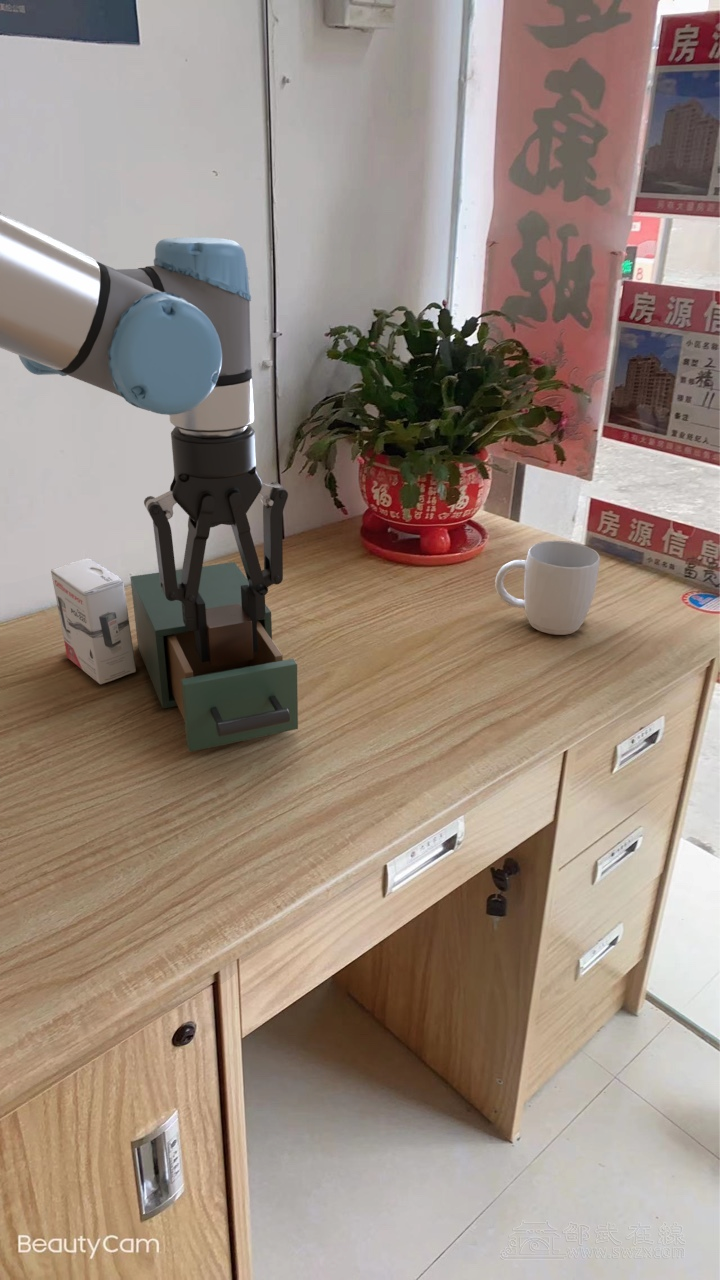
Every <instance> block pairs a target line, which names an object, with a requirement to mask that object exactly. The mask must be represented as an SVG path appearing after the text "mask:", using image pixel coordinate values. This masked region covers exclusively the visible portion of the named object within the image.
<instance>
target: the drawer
mask: <svg viewBox="0 0 720 1280" xmlns="http://www.w3.org/2000/svg"><path fill="white" fill-rule="evenodd" d="M163 639H164V650H165V660H166V670H167V681H168V685H169V687H170V689H171V691H172V694H173V696H174V698H175V701H176V703H177V705H178V706H177V707H178V711H179V712H180V714H181V716H182V719H183V722H184V729H185V730H184V732H185V741H186V743H185V744H186V747H187V750H188V752H189V753H193V752H197V751H201V750H205V749H210V748H215V747H219V746H225V745H228V744H229V745H230V744H233V743H239V742H244V741H248V740H252V739H257V738H263V737H267V736H271V735H277V734H281V733H285V732H291V731H294V730H298V729H299V716H298V715H299V707H298V706H299V704H298V703H299V700H298V698H299V697H298V695H299V693H298V663H297V662H296V661H295V659H294V658H289V659H284V658H283V654H282V653H281V651H280V649H279V648H278V647H277V645H276V644H275V642H274V641H273V638H272V639H271V638H270V637H269V635H268V634H267V632H266V631H265V629H264V628H263V626H262V625H261V623H260V622H259V621H258V620H257V640H258V652H257V653H253V659H251V660H246V661H241V662H235V663H230V664H224V665H219V666H213V667H212V666H211V665H210V663H209V661H208V662H202V661H201V659H200V658H199V656H198V654H197V652H196V647H195V635H194V631H190V632H184V633H178V634H172V635H166V636H163Z"/></svg>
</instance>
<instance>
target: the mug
mask: <svg viewBox="0 0 720 1280" xmlns="http://www.w3.org/2000/svg"><path fill="white" fill-rule="evenodd" d="M526 555H527V556H526V559H514V560H511V561H509V562H506V563H505V564H504V565H502V566H501V567H500V569H499V570H498V572H496V576H495V582H494V586H495V590H496V593H497V595H498V597H499V599H500V600H501V601H503V602H504V603H505V604H506V605H508V606H510V607H513V608H516V609H524V610H525V614H526V619H527V621H528V624H529V625H530V626H531V627H532V628H533V629H535V630H536V631H538V632H542V633H545V634H549V635H555V636H565V635H570V634H574V633H575V632H576V631H578V630H579V629H580V628H581V626H582V625H583V624H584V622H585V620H586V617H587V615H588V613H589V611H590V609H591V605H592V601H593V599H594V596H595V592H596V586H597V584H598V583H597V582H598V577H599V570H600V561H601V557H600V554H599V553H598V552H597V551H596V550H595V549H593V548H591V547H589V546H587V545H584V544H581V543H577V542H573V541H566V540H545V541H544V540H543V541H540V542H537V543H534V544H532V546H531V547H530V548H529V549H528V552H527V554H526ZM513 570H524V581H523V583H524V584H523V592H524V593H523V598H524V599H522V598H517V597H515V596H513V595H511V594H510V593H509V592H508V591H507V590H506V589H505V586H504V580H505V577H506V575H508V574H509V573H510V572H511V571H513Z"/></svg>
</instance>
